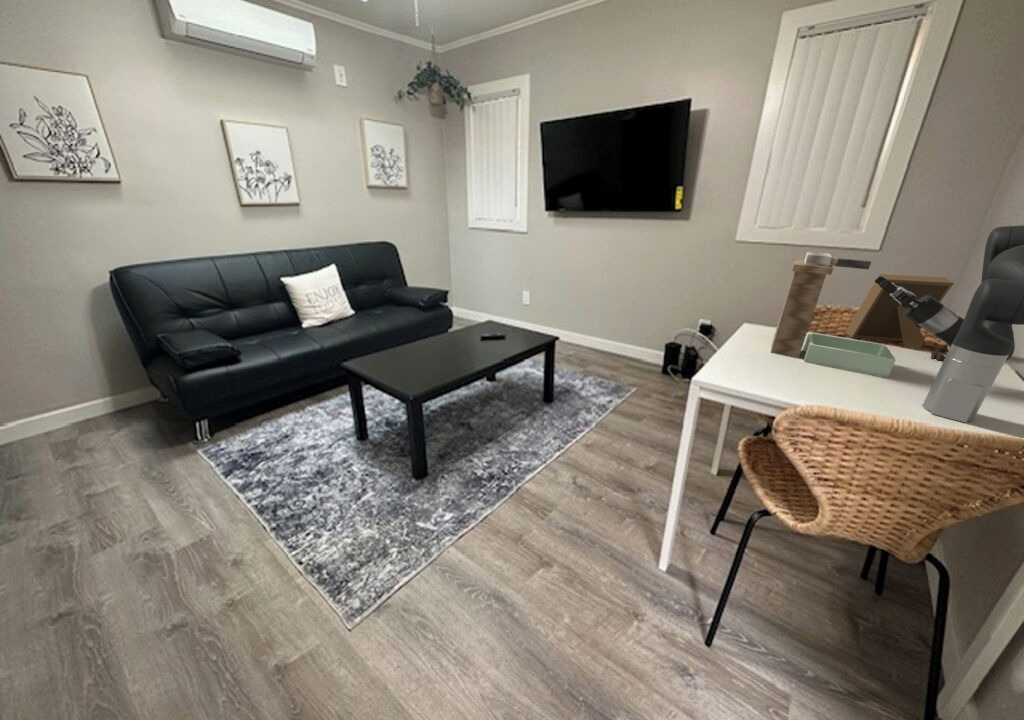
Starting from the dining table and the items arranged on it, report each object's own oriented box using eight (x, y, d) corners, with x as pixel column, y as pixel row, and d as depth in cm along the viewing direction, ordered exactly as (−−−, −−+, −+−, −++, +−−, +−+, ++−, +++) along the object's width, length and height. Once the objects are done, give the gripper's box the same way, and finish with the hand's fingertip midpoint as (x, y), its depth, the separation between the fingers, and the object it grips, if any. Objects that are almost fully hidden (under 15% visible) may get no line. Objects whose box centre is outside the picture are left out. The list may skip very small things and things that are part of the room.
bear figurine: (913, 343, 144) (956, 341, 143) (909, 354, 146) (952, 352, 145) (963, 362, 127) (1012, 360, 126) (958, 375, 129) (1007, 373, 128)
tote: (878, 361, 133) (885, 344, 131) (887, 378, 121) (895, 359, 118) (802, 347, 143) (808, 331, 141) (804, 361, 131) (810, 344, 129)
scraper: (865, 266, 125) (868, 257, 124) (870, 271, 118) (874, 260, 116) (804, 261, 133) (806, 251, 132) (805, 264, 125) (808, 254, 124)
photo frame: (844, 334, 160) (868, 271, 150) (902, 337, 158) (931, 274, 148) (871, 347, 147) (899, 279, 137) (935, 352, 145) (968, 283, 135)
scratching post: (801, 348, 143) (829, 262, 131) (802, 360, 132) (833, 268, 120) (768, 342, 148) (793, 259, 136) (767, 353, 137) (793, 264, 125)
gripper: (923, 330, 114) (871, 294, 118) (911, 318, 125) (864, 286, 129) (951, 310, 110) (896, 273, 114) (937, 300, 121) (887, 267, 125)
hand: (879, 280), depth 122 cm, fingers open, 8 cm apart
